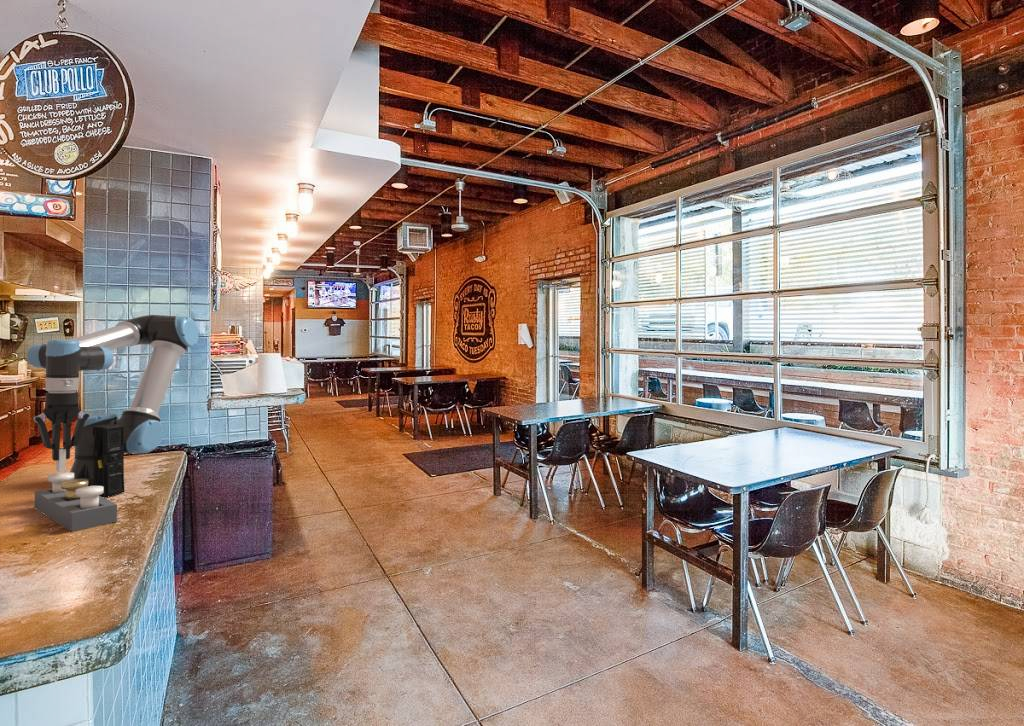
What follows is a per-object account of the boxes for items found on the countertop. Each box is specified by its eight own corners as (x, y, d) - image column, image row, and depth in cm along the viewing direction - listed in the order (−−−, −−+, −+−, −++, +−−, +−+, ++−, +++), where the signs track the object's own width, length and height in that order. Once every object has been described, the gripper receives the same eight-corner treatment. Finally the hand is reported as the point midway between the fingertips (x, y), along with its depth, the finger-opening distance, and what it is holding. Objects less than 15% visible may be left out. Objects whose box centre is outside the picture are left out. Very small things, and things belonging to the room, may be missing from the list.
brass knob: (83, 498, 155) (83, 477, 155) (91, 502, 151) (91, 481, 151) (57, 503, 150) (57, 481, 150) (65, 507, 146) (65, 485, 146)
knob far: (98, 506, 149) (98, 484, 148) (107, 510, 145) (107, 488, 145) (71, 511, 144) (72, 488, 143) (80, 516, 140) (80, 493, 140)
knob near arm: (69, 491, 161) (70, 471, 161) (77, 495, 158) (77, 474, 157) (44, 495, 156) (44, 474, 156) (51, 499, 153) (51, 478, 152)
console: (76, 500, 163) (76, 484, 163) (116, 522, 147) (117, 504, 146) (34, 508, 155) (34, 491, 155) (71, 531, 138) (72, 513, 138)
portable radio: (103, 499, 165) (104, 420, 164) (87, 497, 167) (88, 419, 166) (126, 492, 173) (127, 417, 172) (111, 490, 174) (112, 416, 173)
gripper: (37, 393, 148) (36, 476, 149) (94, 391, 159) (92, 469, 160) (29, 391, 152) (27, 472, 153) (84, 389, 163) (83, 465, 164)
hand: (60, 470), depth 156 cm, fingers closed
